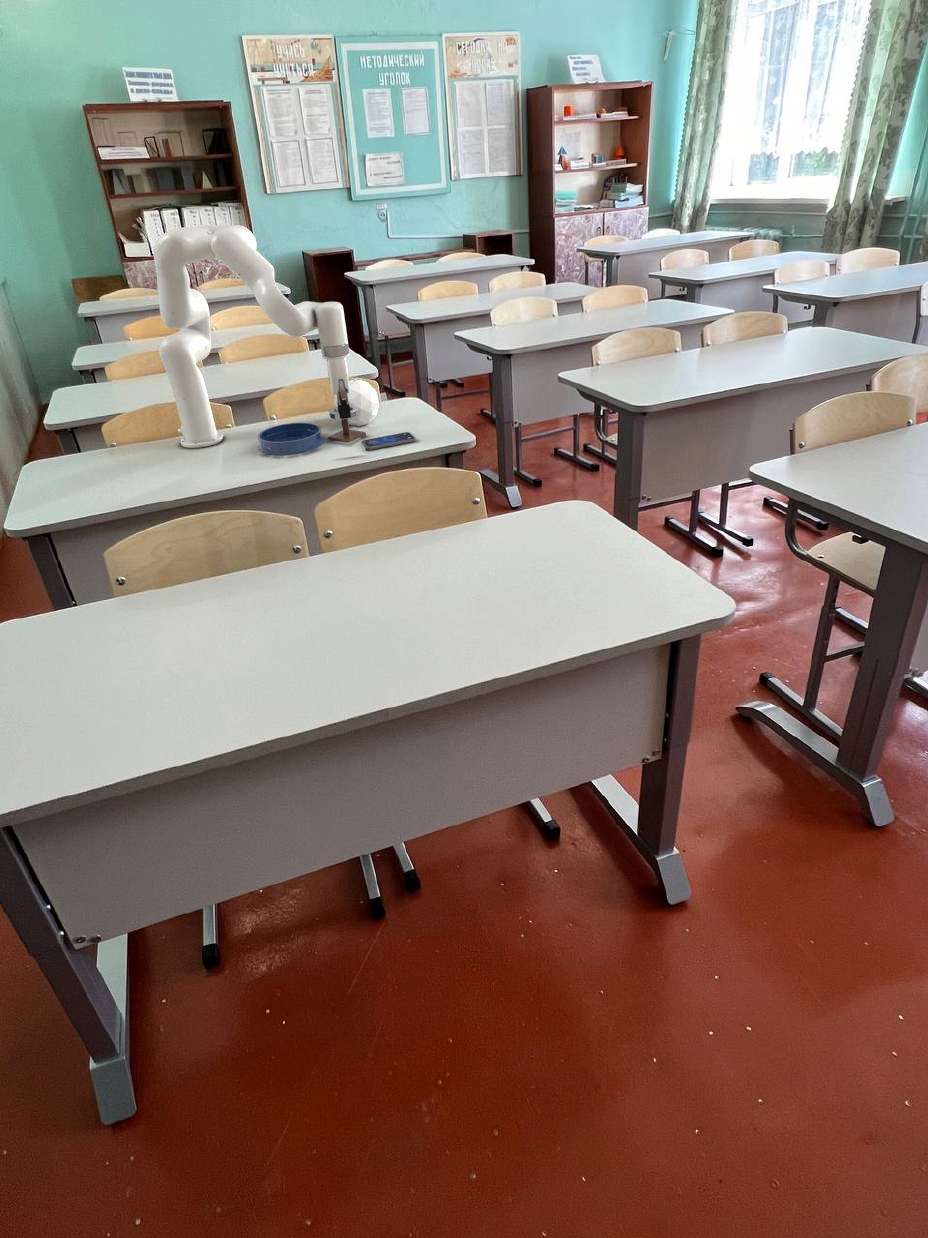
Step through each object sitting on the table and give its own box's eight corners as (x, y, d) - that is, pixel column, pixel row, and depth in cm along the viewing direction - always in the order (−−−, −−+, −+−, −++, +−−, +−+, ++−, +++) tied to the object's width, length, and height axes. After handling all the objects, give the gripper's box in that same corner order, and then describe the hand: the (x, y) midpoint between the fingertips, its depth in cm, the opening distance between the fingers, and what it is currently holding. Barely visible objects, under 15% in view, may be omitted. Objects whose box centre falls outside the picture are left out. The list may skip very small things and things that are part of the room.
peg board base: (328, 441, 224) (324, 416, 220) (345, 433, 230) (342, 409, 226) (349, 444, 220) (345, 419, 216) (366, 436, 226) (363, 411, 222)
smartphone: (417, 438, 219) (367, 447, 214) (417, 441, 219) (367, 451, 215) (408, 431, 224) (360, 440, 220) (409, 434, 225) (360, 443, 220)
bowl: (247, 453, 220) (244, 437, 218) (291, 434, 233) (288, 419, 230) (293, 461, 211) (290, 445, 209) (336, 441, 224) (333, 426, 222)
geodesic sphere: (346, 395, 244) (331, 366, 231) (388, 395, 242) (376, 365, 228) (338, 435, 239) (322, 407, 226) (381, 435, 236) (368, 406, 223)
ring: (328, 412, 224) (327, 407, 223) (356, 409, 225) (356, 403, 225) (331, 420, 217) (330, 415, 216) (360, 416, 218) (359, 411, 217)
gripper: (319, 346, 215) (329, 411, 224) (324, 358, 201) (334, 426, 211) (345, 343, 216) (354, 407, 225) (352, 354, 203) (361, 422, 212)
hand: (345, 416), depth 218 cm, fingers closed on ring, 1 cm apart
